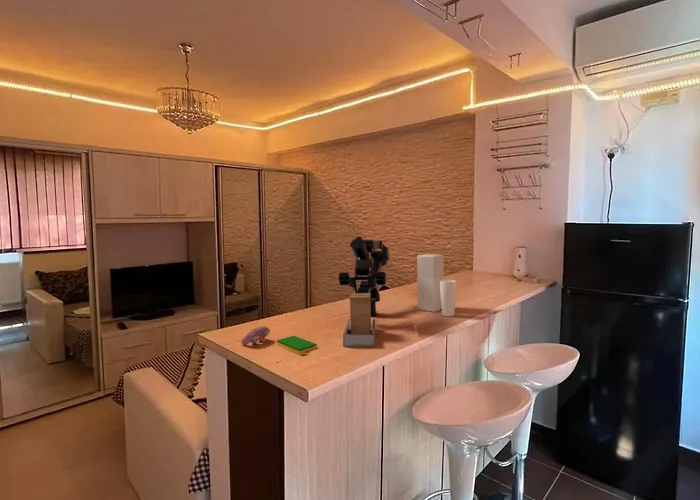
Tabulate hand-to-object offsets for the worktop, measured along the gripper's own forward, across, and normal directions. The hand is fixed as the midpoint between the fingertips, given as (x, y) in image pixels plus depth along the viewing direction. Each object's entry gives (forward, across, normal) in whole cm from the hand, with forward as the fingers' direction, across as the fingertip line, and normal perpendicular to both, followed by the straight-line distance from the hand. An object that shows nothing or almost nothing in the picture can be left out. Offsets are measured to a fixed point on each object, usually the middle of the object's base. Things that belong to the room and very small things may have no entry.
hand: (361, 296), depth 151 cm
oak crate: (+15, 0, +2) cm, 15 cm away
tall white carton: (-13, +30, +31) cm, 45 cm away
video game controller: (+22, -36, -4) cm, 43 cm away
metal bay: (+19, 0, -1) cm, 19 cm away
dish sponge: (+26, -21, -7) cm, 34 cm away
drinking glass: (-4, +36, +22) cm, 43 cm away
